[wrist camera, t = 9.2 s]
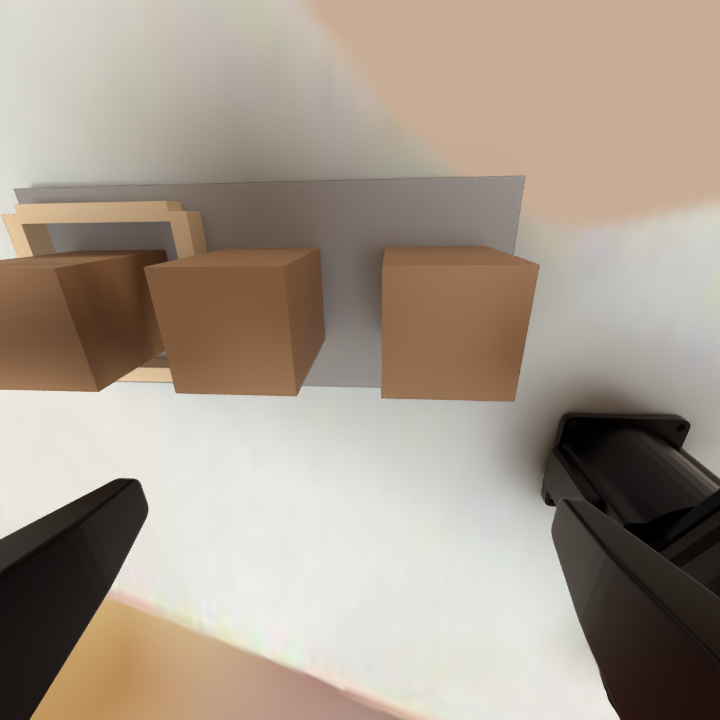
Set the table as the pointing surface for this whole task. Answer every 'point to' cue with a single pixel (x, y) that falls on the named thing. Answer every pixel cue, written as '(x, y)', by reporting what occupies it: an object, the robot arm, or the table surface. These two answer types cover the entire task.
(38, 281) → the walnut block
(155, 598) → the table surface
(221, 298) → the holder
